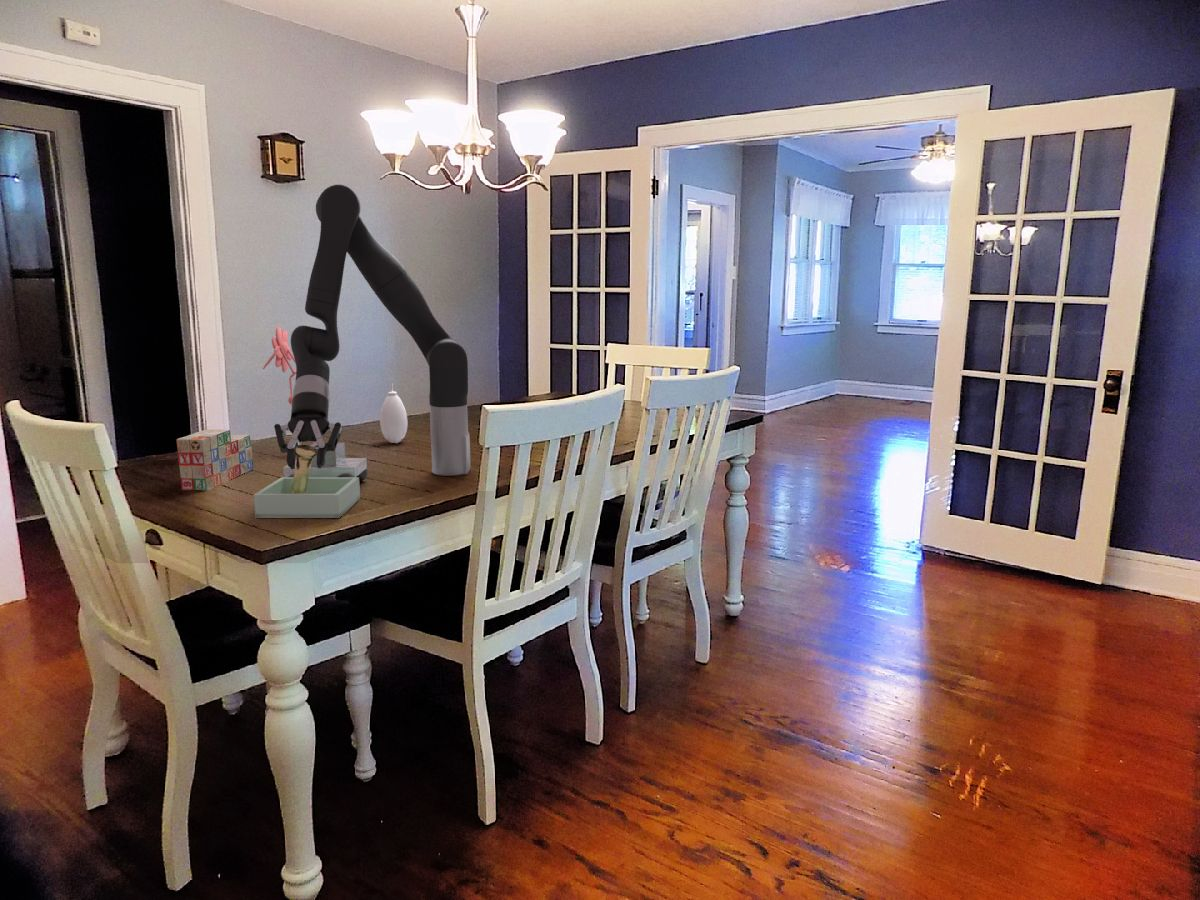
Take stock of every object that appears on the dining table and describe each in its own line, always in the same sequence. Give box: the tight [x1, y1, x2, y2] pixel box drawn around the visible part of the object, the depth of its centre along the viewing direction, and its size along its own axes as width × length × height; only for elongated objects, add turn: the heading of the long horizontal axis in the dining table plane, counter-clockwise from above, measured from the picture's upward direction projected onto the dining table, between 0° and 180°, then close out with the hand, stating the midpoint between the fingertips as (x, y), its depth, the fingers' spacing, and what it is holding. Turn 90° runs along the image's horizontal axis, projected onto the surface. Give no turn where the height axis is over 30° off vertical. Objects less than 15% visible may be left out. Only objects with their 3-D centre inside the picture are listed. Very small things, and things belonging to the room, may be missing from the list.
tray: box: [253, 476, 361, 519], centre depth 171 cm, size 17×15×5 cm
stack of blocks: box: [176, 428, 254, 492], centre depth 195 cm, size 21×6×12 cm, turn 175°
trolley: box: [282, 442, 369, 483], centre depth 188 cm, size 16×13×10 cm
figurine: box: [262, 326, 316, 457], centre depth 226 cm, size 15×26×35 cm, turn 0°
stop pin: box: [290, 444, 317, 494], centre depth 171 cm, size 4×4×12 cm
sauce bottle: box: [379, 383, 408, 444], centre depth 240 cm, size 8×8×18 cm
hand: (305, 466), depth 168 cm, fingers open, 4 cm apart
